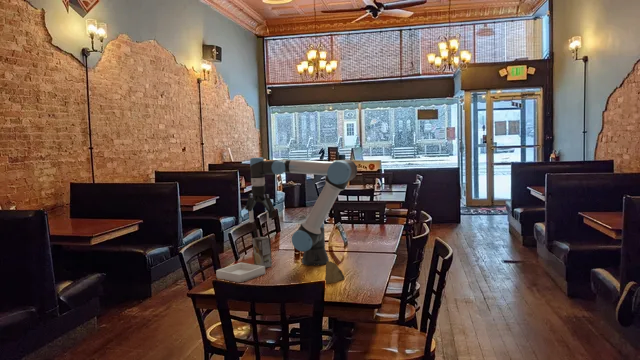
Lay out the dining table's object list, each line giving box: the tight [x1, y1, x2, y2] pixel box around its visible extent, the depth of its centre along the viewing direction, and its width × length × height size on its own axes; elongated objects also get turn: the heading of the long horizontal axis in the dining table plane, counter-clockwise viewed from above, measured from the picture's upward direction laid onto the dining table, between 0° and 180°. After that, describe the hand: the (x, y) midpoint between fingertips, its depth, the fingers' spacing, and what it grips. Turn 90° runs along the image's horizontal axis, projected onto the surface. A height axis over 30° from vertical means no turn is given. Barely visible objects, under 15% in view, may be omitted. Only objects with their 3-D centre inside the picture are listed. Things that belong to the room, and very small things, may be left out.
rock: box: [324, 260, 345, 285], centre depth 233 cm, size 11×9×10 cm
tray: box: [215, 262, 266, 283], centre depth 250 cm, size 18×18×4 cm
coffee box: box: [252, 236, 273, 269], centre depth 267 cm, size 9×6×16 cm
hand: (260, 223), depth 266 cm, fingers open, 13 cm apart
